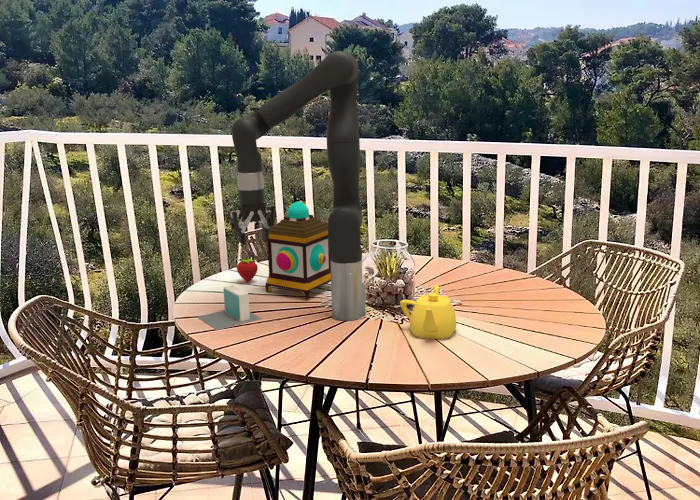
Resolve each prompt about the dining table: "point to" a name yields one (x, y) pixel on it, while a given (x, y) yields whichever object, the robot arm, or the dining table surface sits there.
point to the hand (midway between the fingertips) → (254, 242)
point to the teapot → (431, 316)
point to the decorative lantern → (298, 252)
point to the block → (236, 303)
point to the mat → (224, 320)
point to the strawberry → (247, 269)
